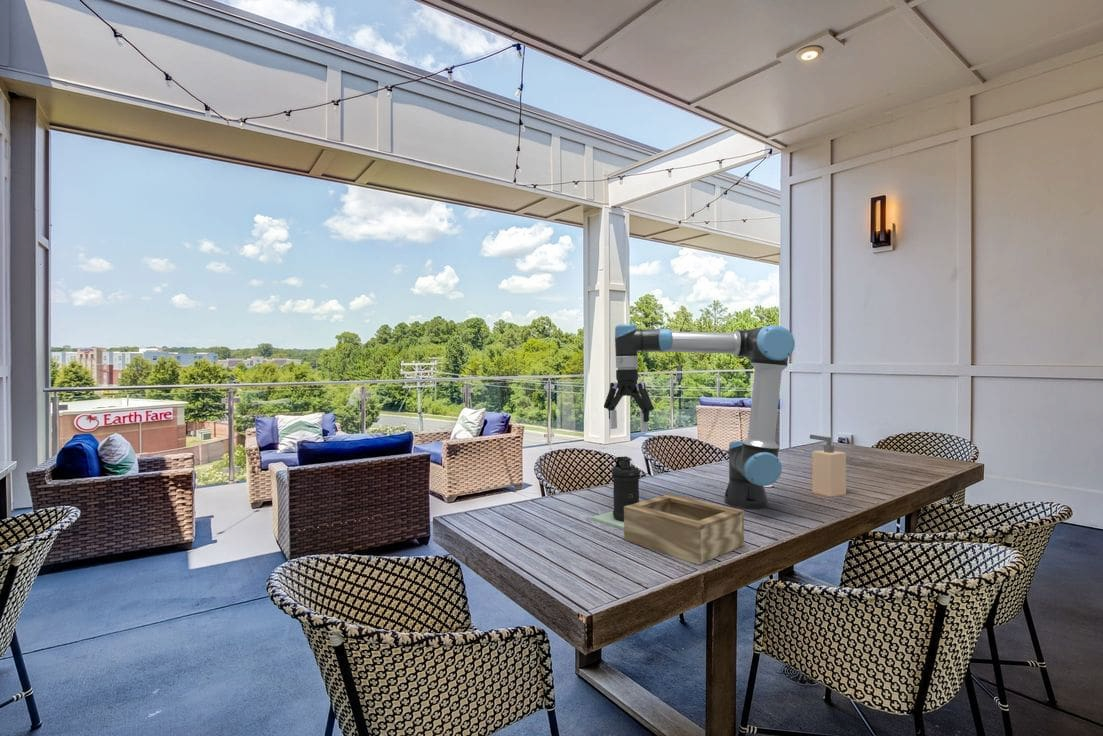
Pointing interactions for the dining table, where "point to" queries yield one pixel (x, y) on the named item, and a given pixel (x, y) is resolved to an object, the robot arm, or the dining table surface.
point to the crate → (684, 527)
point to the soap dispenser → (828, 470)
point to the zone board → (609, 520)
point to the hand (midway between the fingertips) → (628, 430)
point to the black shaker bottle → (624, 486)
